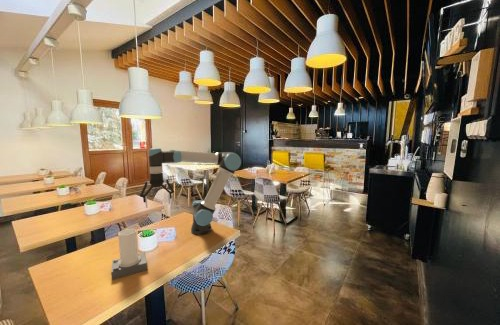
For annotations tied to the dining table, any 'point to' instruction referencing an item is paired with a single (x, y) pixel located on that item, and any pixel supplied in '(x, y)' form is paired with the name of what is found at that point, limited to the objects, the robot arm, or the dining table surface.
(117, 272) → the camera body
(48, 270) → the dining table surface
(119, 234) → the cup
